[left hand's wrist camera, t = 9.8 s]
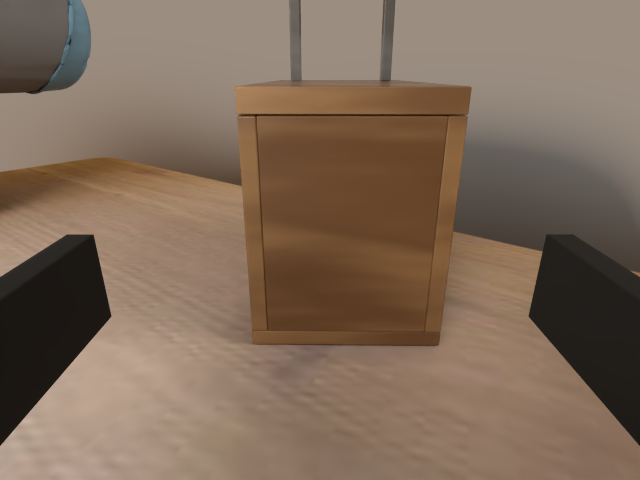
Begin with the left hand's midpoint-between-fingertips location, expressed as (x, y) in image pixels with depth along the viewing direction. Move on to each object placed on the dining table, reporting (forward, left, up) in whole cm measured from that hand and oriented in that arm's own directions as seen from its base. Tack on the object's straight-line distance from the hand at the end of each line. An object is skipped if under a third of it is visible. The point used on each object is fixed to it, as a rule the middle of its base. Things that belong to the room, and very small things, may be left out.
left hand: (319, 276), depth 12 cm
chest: (+10, -11, -7) cm, 16 cm away
